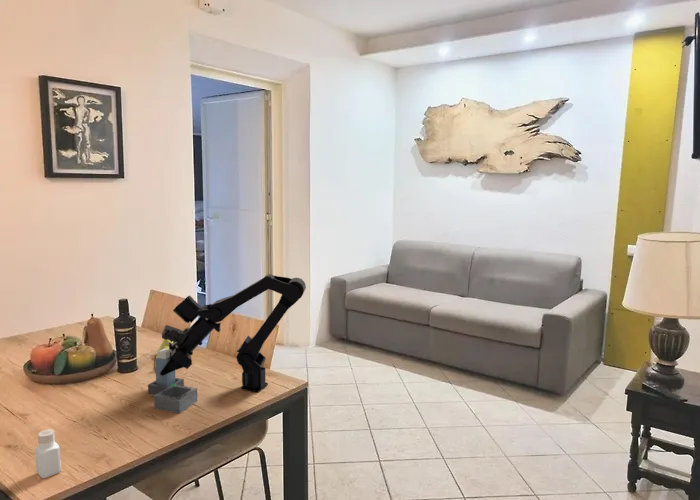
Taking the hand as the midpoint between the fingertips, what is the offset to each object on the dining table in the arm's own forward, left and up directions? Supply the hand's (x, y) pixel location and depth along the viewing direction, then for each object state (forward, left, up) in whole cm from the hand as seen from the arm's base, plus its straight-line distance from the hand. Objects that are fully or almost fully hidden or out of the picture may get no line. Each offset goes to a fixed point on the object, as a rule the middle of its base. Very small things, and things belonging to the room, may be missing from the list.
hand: (160, 371), depth 153 cm
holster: (-1, -1, -7) cm, 7 cm away
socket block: (-10, +6, -7) cm, 14 cm away
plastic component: (+14, -26, -7) cm, 30 cm away
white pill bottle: (-5, +44, -7) cm, 45 cm away
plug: (-1, -1, -7) cm, 7 cm away
